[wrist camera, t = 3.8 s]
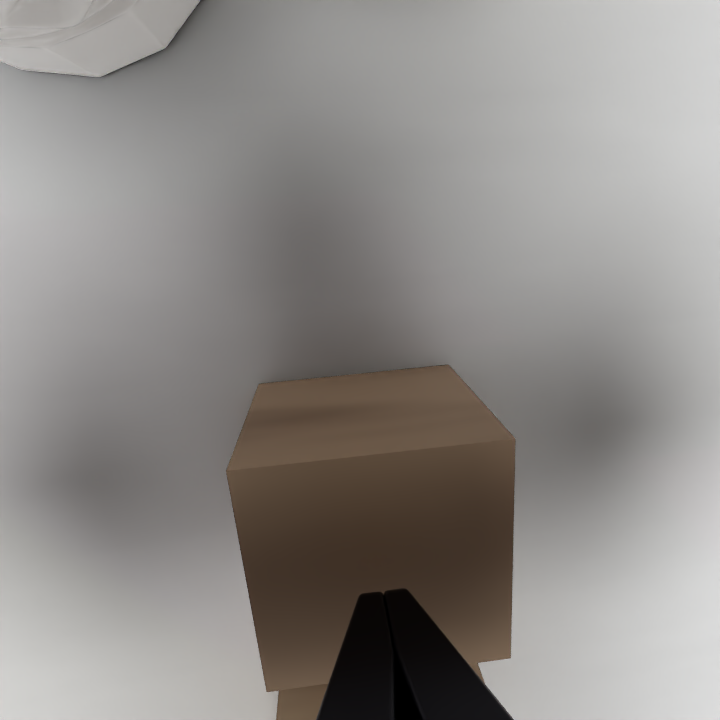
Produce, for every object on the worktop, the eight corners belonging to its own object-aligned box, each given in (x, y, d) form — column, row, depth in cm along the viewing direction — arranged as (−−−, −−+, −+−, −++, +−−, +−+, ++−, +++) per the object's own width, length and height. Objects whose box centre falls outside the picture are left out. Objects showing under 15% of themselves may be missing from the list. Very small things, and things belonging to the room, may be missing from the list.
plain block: (451, 522, 14) (510, 658, 10) (283, 542, 14) (266, 691, 9) (447, 363, 12) (515, 438, 8) (259, 382, 12) (225, 470, 8)
